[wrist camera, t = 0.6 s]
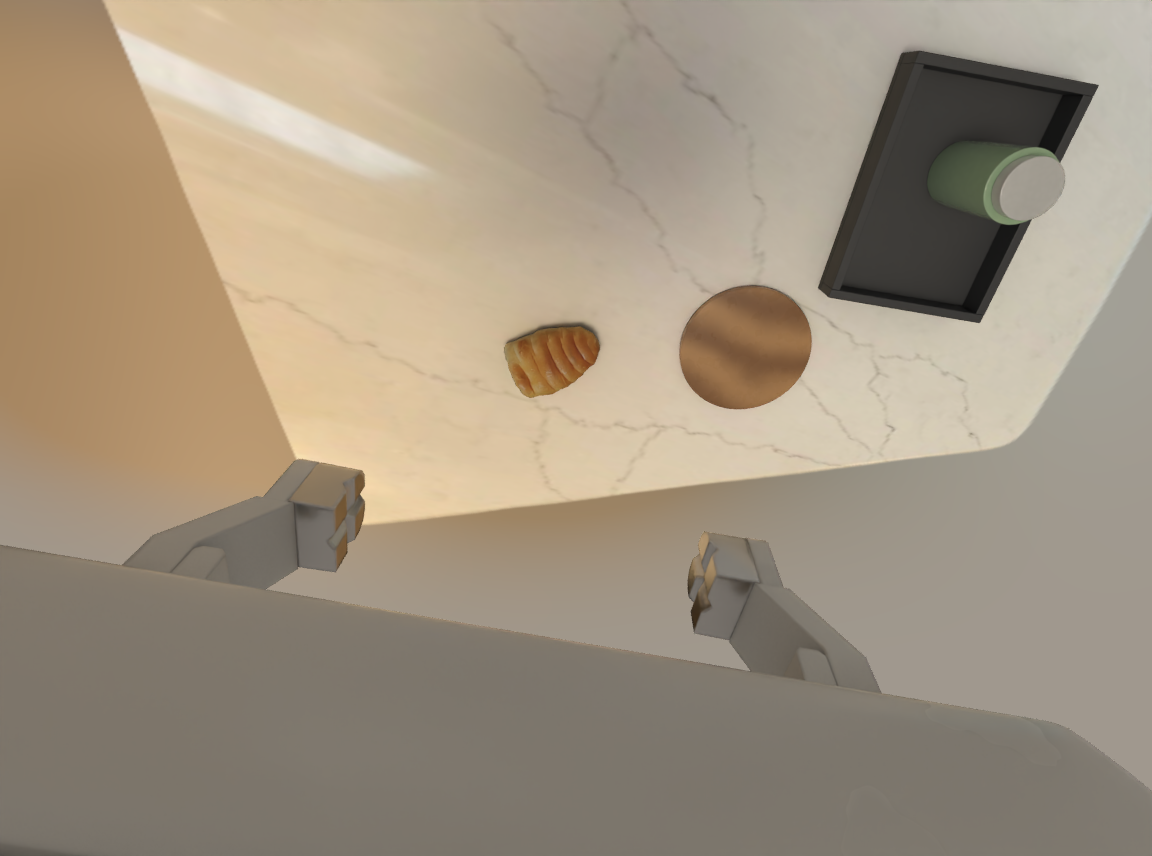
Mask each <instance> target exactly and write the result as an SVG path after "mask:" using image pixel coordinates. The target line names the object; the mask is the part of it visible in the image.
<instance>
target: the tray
mask: <svg viewBox="0 0 1152 856" xmlns="http://www.w3.org/2000/svg"><path fill="white" fill-rule="evenodd" d="M1098 86H1099V85H1096V84H1090V83H1085V82H1080V81H1075V80H1070V79H1064V78H1059V77H1054V76H1049V75H1044V74H1038V73H1033V72H1028V71H1023V70H1017V69H1012V68H1007V67H1002V66H997V65H991V64H986V63H981V62H976V61H971V60H965V59H960V58H955V57H950V56H944V55H939V54H934V53H929V52H924V51H914V52H907V53H902V54H901V57H900V60H899V63H898V65H897V68H896V71H895V74H894V77H893V80H892V82H891V85H890V88H889V91H888V94H887V96H886V99H885V102H884V105H883V108H882V110H881V113H880V116H879V119H878V122H877V124H876V127H875V130H874V133H873V136H872V138H871V141H870V144H869V147H868V150H867V153H866V155H865V158H864V161H863V164H862V167H861V169H860V172H859V175H858V178H857V181H856V183H855V186H854V189H853V192H852V195H851V197H850V200H849V203H848V206H847V209H846V211H845V214H844V217H843V220H842V223H841V226H840V228H839V231H838V234H837V237H836V240H835V242H834V245H833V248H832V251H831V254H830V256H829V259H828V262H827V265H826V268H825V270H824V273H823V276H822V279H821V282H820V285H819V287H818V288H819V289H820V290H821V291H822V292H823V293H825V294H826V295H827V296H828V297H830V298H836V299H841V300H847V301H853V302H859V303H865V304H871V305H876V306H882V307H888V308H894V309H900V310H906V311H912V312H917V313H923V314H929V315H935V316H941V317H947V318H953V319H958V320H964V321H970V322H976V323H980V322H981V320H982V318H983V315H984V314H985V312H986V310H987V308H988V306H989V304H990V302H991V300H992V298H993V296H994V294H995V292H996V290H997V288H998V286H999V284H1000V282H1001V280H1002V278H1003V276H1004V274H1005V272H1006V270H1007V268H1008V266H1009V264H1010V262H1011V260H1012V258H1013V256H1014V254H1015V252H1016V250H1017V248H1018V246H1019V244H1020V242H1021V240H1022V238H1023V236H1024V234H1025V232H1026V230H1027V228H1028V226H1029V224H1030V222H1031V220H1032V219H1030V220H1028V221H1026V222H1023V223H1020V224H1014V225H1005V224H1001V223H997V222H994V221H991V220H988V219H984V218H981V217H978V216H975V215H972V214H968V213H965V212H962V211H959V210H956V209H952V208H949V207H946V206H943V205H940V204H938V203H937V202H936V201H934V200H933V198H932V197H931V195H930V194H929V191H928V186H927V178H928V173H929V170H930V168H931V166H932V164H933V162H934V160H935V159H936V158H937V156H938V155H939V154H940V153H941V152H942V151H943V150H944V149H946V148H947V147H949V146H950V145H952V144H954V143H956V142H959V141H963V140H977V141H986V142H995V143H1004V144H1013V145H1021V146H1030V147H1039V148H1044V149H1046V150H1049V151H1050V152H1052V153H1053V154H1054V155H1055V156H1056V158H1057V159H1058V161H1059V163H1060V162H1061V160H1062V158H1063V156H1064V154H1065V152H1066V150H1067V148H1068V146H1069V144H1070V142H1071V140H1072V138H1073V136H1074V134H1075V132H1076V130H1077V128H1078V126H1079V124H1080V122H1081V120H1082V118H1083V116H1084V114H1085V112H1086V110H1087V108H1088V106H1089V104H1090V102H1091V100H1092V98H1093V97H1092V96H1094V94H1095V92H1096V90H1097V88H1098Z"/></svg>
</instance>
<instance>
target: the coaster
mask: <svg viewBox="0 0 1152 856" xmlns="http://www.w3.org/2000/svg"><path fill="white" fill-rule="evenodd" d="M811 342H812V338H811V330H810V327H809V323H808V321H807V319H806V317H805V315H804V313H803V312H802V310H801V309H800V308H799V307H798V306H797V304H796V303H795V302H794V301H793V300H791V299H790V298H789V297H788V296H786V295H784V294H783V293H781V292H779V291H776V290H774V289H771V288H767V287H762V286H743V287H736V288H733V289H729V290H727V291H724V292H722V293H719V294H718V295H716V296H714V297H712V298H711V299H710V300H708V301H707V302H705V303H704V304H703V305H702V306H701V307H700V308H699V309H698V310H697V311H696V312H695V313H694V315H693V316H692V317H691V319H690V320H689V322H688V323H687V326H686V328H685V330H684V332H683V335H682V338H681V343H680V354H679V355H680V363H681V367H682V371H683V374H684V376H685V379H686V380H687V382H688V384H689V385H690V387H691V388H692V389H693V390H694V391H695V392H696V393H697V394H698V395H699V396H700V397H701V398H703V399H704V400H706V401H708V402H710V403H712V404H714V405H717V406H719V407H724V408H729V409H748V408H754V407H758V406H761V405H764V404H766V403H769V402H771V401H773V400H775V399H777V398H778V397H780V396H781V395H783V394H784V393H785V392H786V391H788V390H789V389H790V388H791V387H792V386H793V385H794V384H795V383H796V381H797V380H798V379H799V377H800V376H801V374H802V373H803V371H804V369H805V367H806V365H807V363H808V360H809V356H810V352H811Z"/></svg>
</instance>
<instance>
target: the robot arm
mask: <svg viewBox="0 0 1152 856" xmlns="http://www.w3.org/2000/svg"><path fill="white" fill-rule="evenodd" d="M364 486H365V475H364V473H363V471H362V470H357V469H352V468H347V467H341V466H336V465H331V464H326V463H319V462H316V461H310V460H305V459H297V460H295V461H294V462H293V463H292V464H291V465H290V466H289V468H288V469H287V470H286V471H285V472H284V473H283V475H282V476H281V477H280V478H279V479H278V480H277V481H276V483H275V484H274V485H273V486H272V487H271V488H270V490H269V491H268V492H267V493H266V494H265V495H264V497H258V496H256V497H253V498H250V499H248V500H245V501H242V502H240V503H237V504H235V505H232V506H229V507H227V508H224V509H221V510H219V511H216V512H214V513H211V514H208V515H206V516H203V517H200V518H197V519H195V520H192V521H189V522H187V523H184V524H182V525H179V526H176V527H174V528H171V529H168V530H166V531H163V532H160V533H158V534H155V535H153V536H152V537H151V538H150V539H149V540H147V541H146V542H145V543H144V544H143V545H142V546H141V547H140V548H139V549H138V550H137V551H136V552H135V553H134V554H133V555H132V556H131V557H130V558H129V559H128V560H127V561H126V562H125V563H124V564H123V565H117V564H111V563H105V562H99V561H93V560H87V559H81V558H75V557H69V556H63V555H57V554H51V553H45V552H39V551H34V550H28V549H22V548H16V547H10V546H3V545H0V856H1152V791H1151V790H1150V789H1149V788H1148V787H1146V786H1145V785H1144V784H1143V783H1141V782H1140V781H1139V780H1138V779H1137V778H1135V777H1134V776H1133V775H1132V774H1131V773H1129V772H1128V771H1127V770H1125V769H1124V768H1123V767H1121V766H1120V765H1119V764H1117V763H1116V762H1115V761H1113V760H1112V759H1111V758H1109V757H1108V756H1107V755H1105V754H1104V753H1103V752H1101V751H1100V750H1099V749H1097V748H1096V747H1095V746H1093V745H1092V744H1091V743H1089V742H1088V741H1086V740H1085V739H1084V738H1082V737H1081V736H1079V735H1077V734H1076V733H1075V732H1073V731H1072V730H1070V729H1069V728H1066V727H1064V726H1061V725H1059V724H1056V723H1052V722H1049V721H1043V720H1038V719H1031V718H1026V717H1020V716H1014V715H1008V714H1002V713H996V712H990V711H984V710H978V709H972V708H966V707H960V706H954V705H948V704H942V703H936V702H930V701H924V700H918V699H912V698H906V697H900V696H893V695H888V694H882V693H881V691H880V689H879V686H878V684H877V681H876V679H875V677H874V675H873V672H872V670H871V668H870V665H869V663H868V661H867V659H866V657H864V655H863V654H862V653H860V652H859V651H858V650H857V649H856V648H855V647H854V646H853V645H852V644H850V643H849V642H848V641H847V640H846V639H845V638H844V637H843V636H841V635H840V634H839V633H838V632H837V631H836V630H835V629H834V628H832V627H831V626H830V625H829V624H828V623H827V622H826V621H825V620H824V619H822V618H821V617H820V616H819V615H818V614H817V613H816V612H815V611H813V609H811V608H810V607H809V606H808V605H807V604H806V603H805V602H804V601H803V600H801V599H800V598H799V597H798V596H797V595H795V593H793V592H792V591H791V590H790V589H787V588H784V587H783V585H782V582H781V579H780V576H779V573H778V570H777V567H776V564H775V561H774V558H773V555H772V553H771V550H770V547H769V544H768V543H767V542H766V541H764V540H757V539H750V538H740V537H734V536H728V535H722V534H716V533H710V532H705V531H704V532H703V534H702V536H701V538H700V540H699V543H698V546H699V553H700V554H699V555H697V556H696V557H694V558H693V560H692V563H691V566H690V570H689V576H688V595H689V598H690V599H691V600H692V601H693V602H694V604H693V607H692V610H691V616H692V623H693V629H694V633H695V634H700V635H705V636H710V637H715V638H721V639H725V640H730V641H729V642H730V644H731V645H732V646H733V648H734V649H735V650H736V652H737V653H738V654H739V656H740V657H741V659H742V660H743V661H744V663H745V664H746V665H747V666H748V668H749V669H750V671H745V670H740V669H734V668H728V667H722V666H716V665H711V664H705V663H698V662H693V661H687V660H681V659H674V658H668V657H663V656H657V655H651V654H645V653H639V652H633V651H627V650H621V649H615V648H609V647H603V646H598V645H592V644H586V643H580V642H574V641H567V640H562V639H555V638H550V637H544V636H538V635H532V634H526V633H520V632H514V631H508V630H503V629H497V628H491V627H485V626H479V625H473V624H467V623H461V622H455V621H449V620H443V619H437V618H431V617H425V616H419V615H414V614H408V613H402V612H396V611H389V610H383V609H378V608H372V607H365V606H360V605H354V604H348V603H342V602H336V601H330V600H325V599H319V598H313V597H307V596H301V595H295V594H289V593H283V592H277V591H270V590H265V589H267V588H268V587H270V586H271V585H273V584H275V583H276V582H278V581H279V580H281V579H283V578H284V577H286V576H287V575H289V574H290V573H292V572H294V571H295V570H297V569H298V567H303V568H309V569H316V570H323V571H330V572H336V571H337V569H338V568H339V566H340V564H341V563H342V561H343V559H344V557H345V556H346V554H347V543H349V542H351V541H353V540H355V538H356V536H357V534H358V533H359V531H360V528H361V525H362V522H363V517H364V511H365V501H364V499H363V498H362V497H361V495H360V493H361V491H362V490H363V488H364Z"/></svg>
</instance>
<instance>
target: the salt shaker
mask: <svg viewBox="0 0 1152 856" xmlns="http://www.w3.org/2000/svg"><path fill="white" fill-rule="evenodd" d="M1064 184H1065V173H1064V169H1063V167H1062V166H1061V164H1060V163H1059V161H1058V159H1057V158H1056V156H1055V155H1054V154H1053V153H1052V152H1050V151H1049V150H1046V149H1044V148H1039V147H1030V146H1021V145H1013V144H1004V143H995V142H986V141H977V140H963V141H959V142H956V143H954V144H952V145H950V146H949V147H947V148H946V149H944V150H943V151H942V152H941V153H940V154H939V155H938V156H937V158H936V159H935V160H934V162H933V164H932V166H931V168H930V170H929V173H928V178H927V186H928V191H929V194H930V195H931V197H932V198H933V200H934V201H936V202H937V203H938V204H940V205H943V206H946V207H949V208H952V209H956V210H959V211H962V212H965V213H968V214H972V215H975V216H978V217H981V218H984V219H988V220H991V221H994V222H997V223H1001V224H1005V225H1014V224H1020V223H1023V222H1026V221H1028V220H1030V219H1034V218H1036V217H1038V216H1040V215H1042V214H1044V213H1045V212H1046V211H1048V210H1049V209H1050V208H1051V207H1052V206H1053V205H1054V204H1055V203H1056V201H1057V200H1058V199H1059V197H1060V195H1061V193H1062V191H1063V188H1064Z"/></svg>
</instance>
